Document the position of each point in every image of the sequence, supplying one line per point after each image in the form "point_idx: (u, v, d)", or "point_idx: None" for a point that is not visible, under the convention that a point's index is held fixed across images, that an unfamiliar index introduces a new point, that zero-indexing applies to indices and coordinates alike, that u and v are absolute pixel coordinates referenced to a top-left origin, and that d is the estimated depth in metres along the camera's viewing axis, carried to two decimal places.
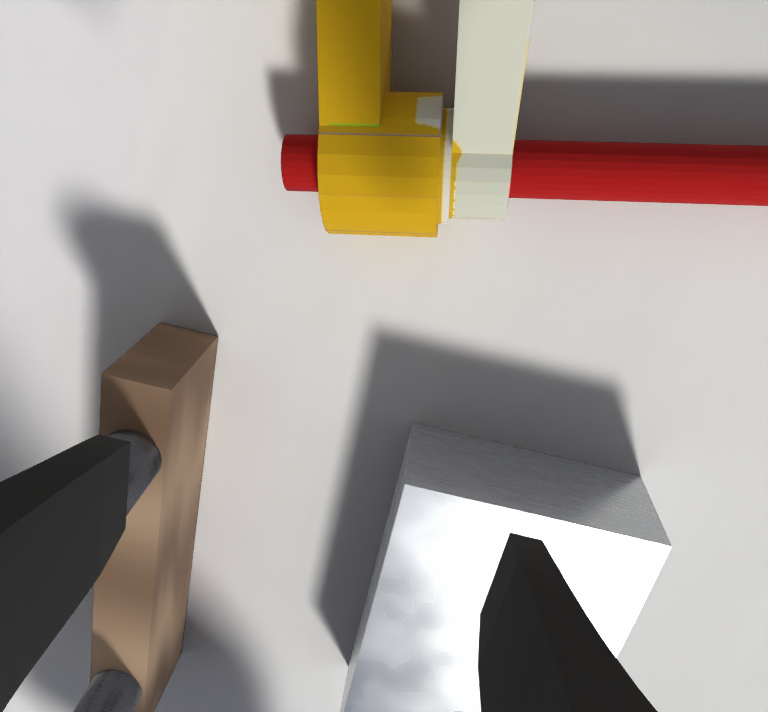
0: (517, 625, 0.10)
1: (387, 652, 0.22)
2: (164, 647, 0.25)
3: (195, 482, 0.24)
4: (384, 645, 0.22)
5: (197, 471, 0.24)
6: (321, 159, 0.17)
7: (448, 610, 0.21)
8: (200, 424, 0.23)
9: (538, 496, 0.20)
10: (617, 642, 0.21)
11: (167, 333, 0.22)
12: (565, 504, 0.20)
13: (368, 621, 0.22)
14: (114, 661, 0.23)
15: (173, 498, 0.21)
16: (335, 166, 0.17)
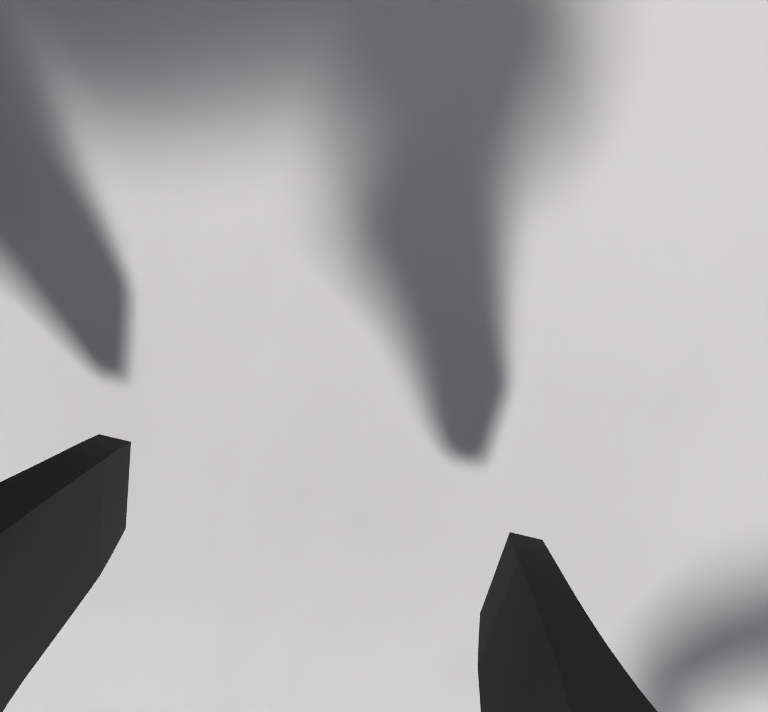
0: (517, 624, 0.10)
1: None
2: None
3: None
4: None
5: None
6: None
7: None
8: None
9: None
10: None
11: None
12: None
13: None
14: None
15: None
16: None
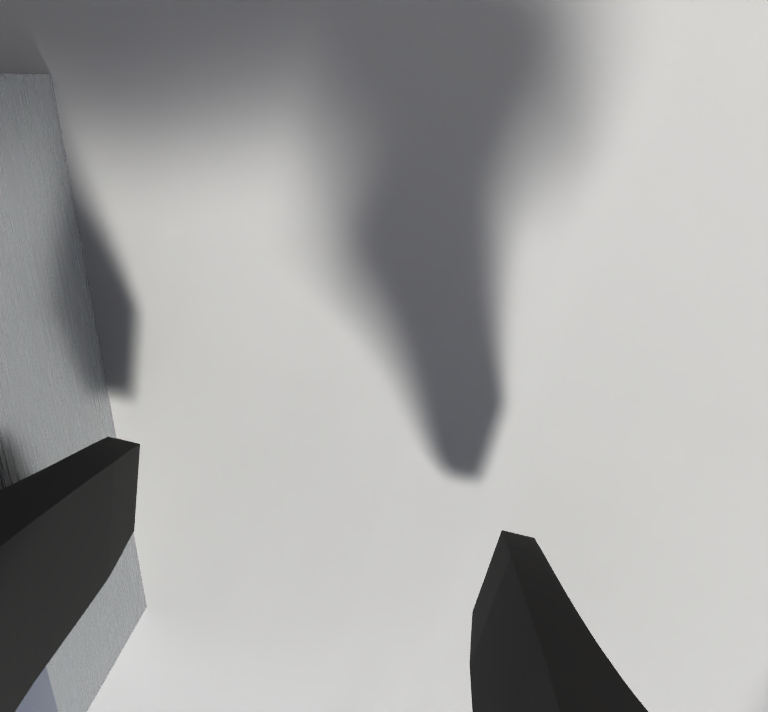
0: (508, 623, 0.10)
1: None
2: None
3: None
4: None
5: None
6: None
7: None
8: None
9: None
10: None
11: None
12: None
13: None
14: None
15: None
16: None
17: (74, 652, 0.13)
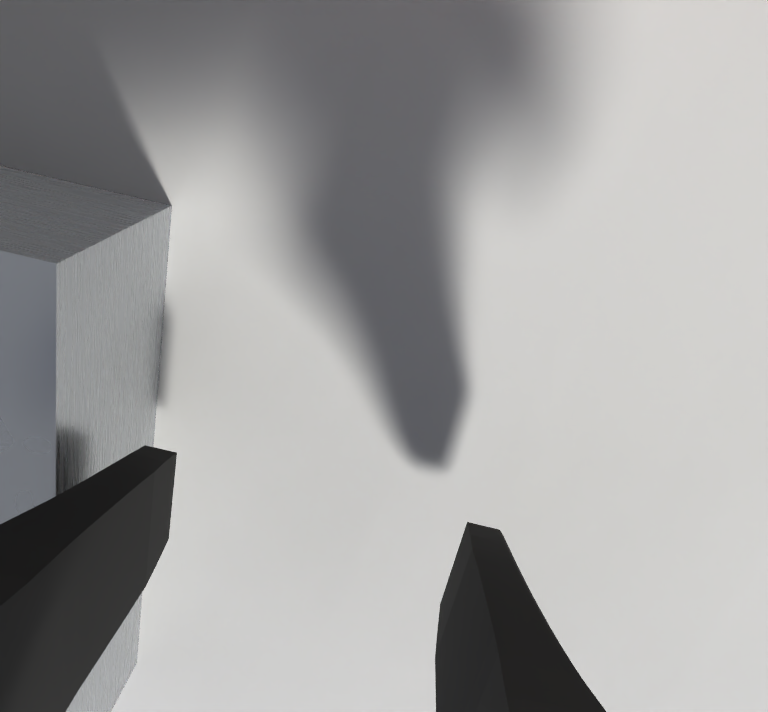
0: (468, 613, 0.10)
1: None
2: None
3: None
4: None
5: None
6: None
7: None
8: None
9: None
10: None
11: None
12: None
13: None
14: None
15: None
16: None
17: None
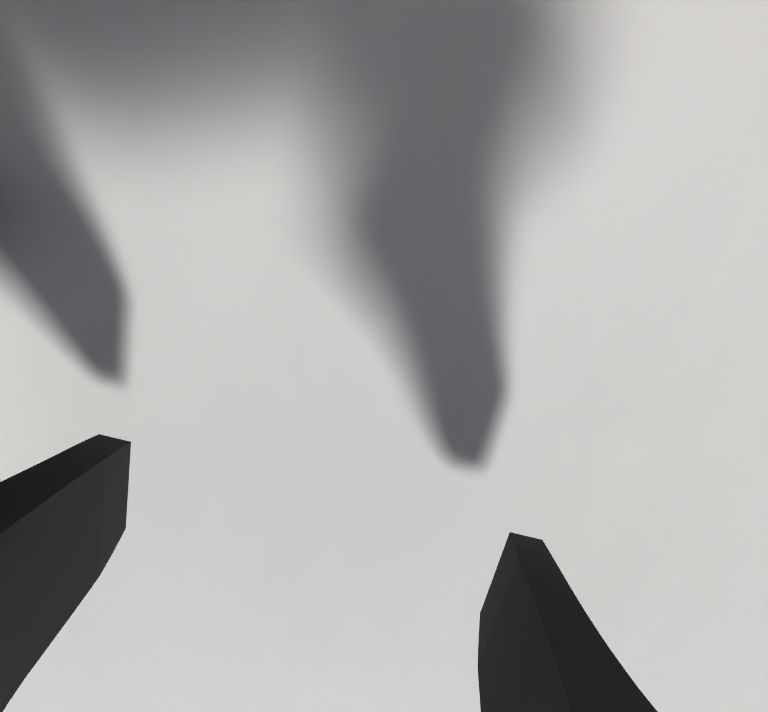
0: (518, 625, 0.10)
1: None
2: None
3: None
4: None
5: None
6: None
7: None
8: None
9: None
10: None
11: None
12: None
13: None
14: None
15: None
16: None
17: None
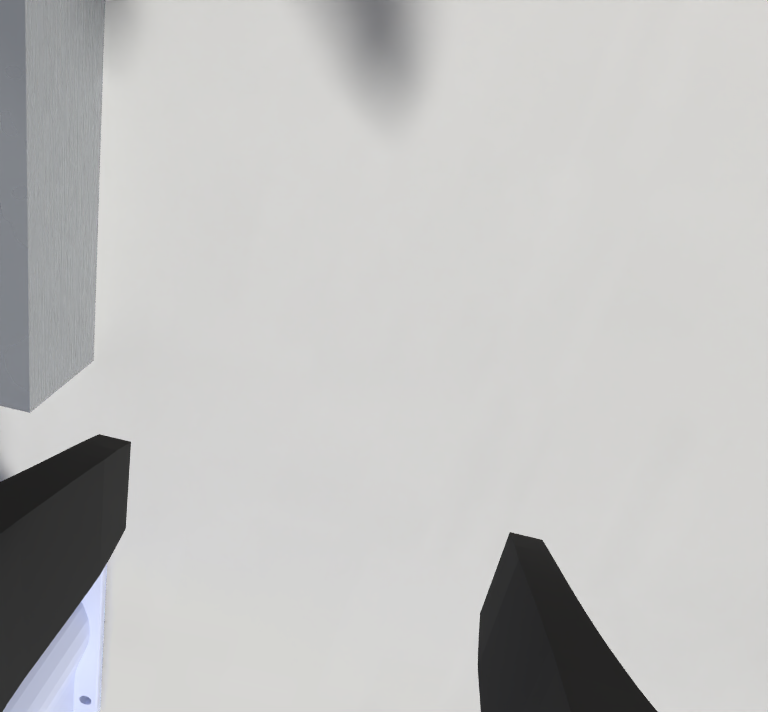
0: (518, 625, 0.10)
1: None
2: None
3: None
4: None
5: None
6: None
7: None
8: None
9: None
10: (18, 121, 0.16)
11: None
12: None
13: None
14: None
15: None
16: None
17: (45, 352, 0.19)
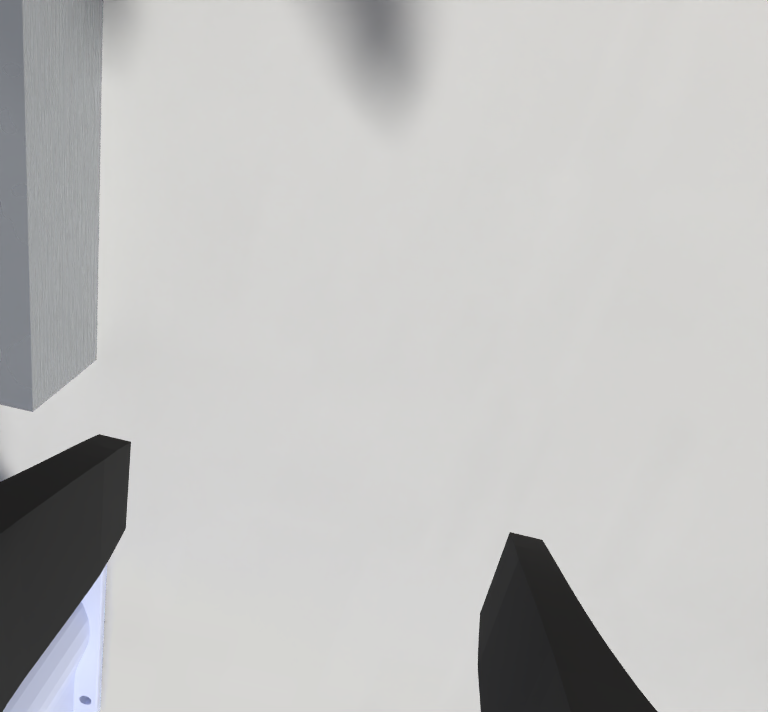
0: (518, 625, 0.10)
1: None
2: None
3: None
4: None
5: None
6: None
7: None
8: None
9: None
10: (17, 119, 0.16)
11: None
12: None
13: None
14: None
15: None
16: None
17: (48, 351, 0.19)
